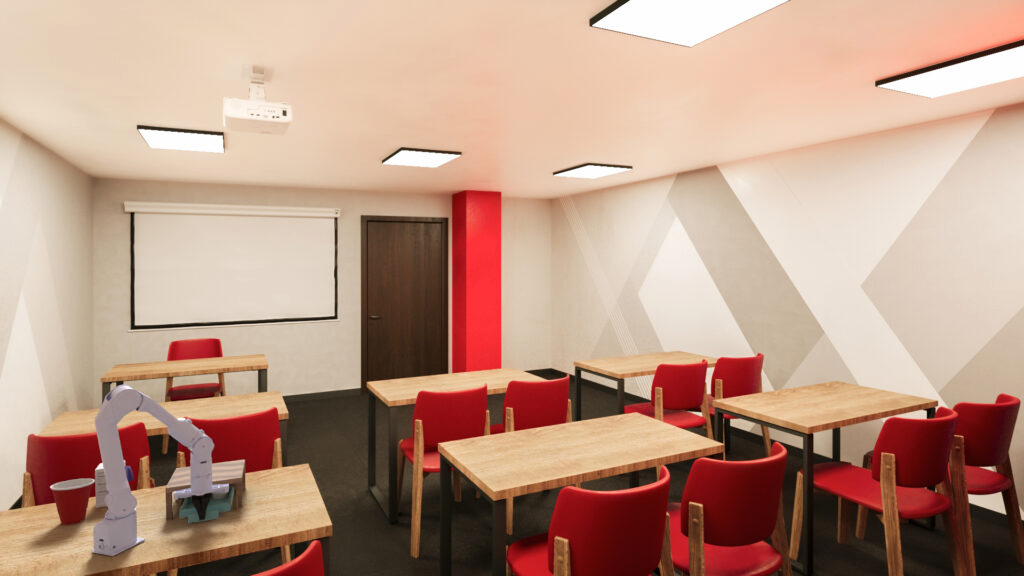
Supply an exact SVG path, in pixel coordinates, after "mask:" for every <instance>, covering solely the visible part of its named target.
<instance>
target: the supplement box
mask: <svg viewBox="0 0 1024 576" xmlns="http://www.w3.org/2000/svg"><path fill="white" fill-rule="evenodd" d="M123 460H124V465H125V466H126V460H125V459H123ZM94 480H95V482H94V485H95V487H94V488H95V489H94V491H95V508H102V507H108V506H107V505H106V504H105V501H104V498H105V495H106V492H107V488H106V478H105V473H104V468H103V463H102V462H101V463H99V464H98V465H97V467H96V468H95V469H94Z"/></svg>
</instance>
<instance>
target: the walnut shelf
mask: <svg viewBox="0 0 1024 576" xmlns="http://www.w3.org/2000/svg"><path fill="white" fill-rule="evenodd" d="M220 484H229V487H230V486H234V490H235V491H236V510H241V509H243V508H244V507H243V490H246V485H247V484H246V459H238V460H237V459H236V460H231V461H223V462H215V463H212V485H220ZM189 488H191V473H190V466H183V467H176V468H175V470H174V471H173V474H172V475H171V478H170V479H169V481H168V483H167V484H166V486H165V490H164V491H165V514H166V515H165V516H166V518H165V519H166V521H171V519H172V520H173V519H174V518H173V517H174V514H173V513H174V512H173V511H174V510H173V507H174V506H173V493H174V492H175V491H180V490H184V489H189Z"/></svg>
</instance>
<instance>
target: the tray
mask: <svg viewBox="0 0 1024 576" xmlns="http://www.w3.org/2000/svg"><path fill="white" fill-rule="evenodd" d="M202 496H203V495H202ZM234 496H235V491H234V486H230V487H229V491H228V492H220V493H213V494H212V496H211V499H210V501H209V503H208V506H207V510H206V516H205V520H199V516H198V513H197V510H196V508H195V507H194V505H193V504H192V502H191V497H186V498H183V499H184V500H183V501H182V505H181V506H180V509H179V519H180V518H181V519H186V518H185V517H187V519H188V520H187V523H188V524H193V523H192V522H194V523H200V522H206V521H211V520H218V519H219V518H220V517H219V516H220V513H224V512H230V511H232V505H233V500H234Z"/></svg>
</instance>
